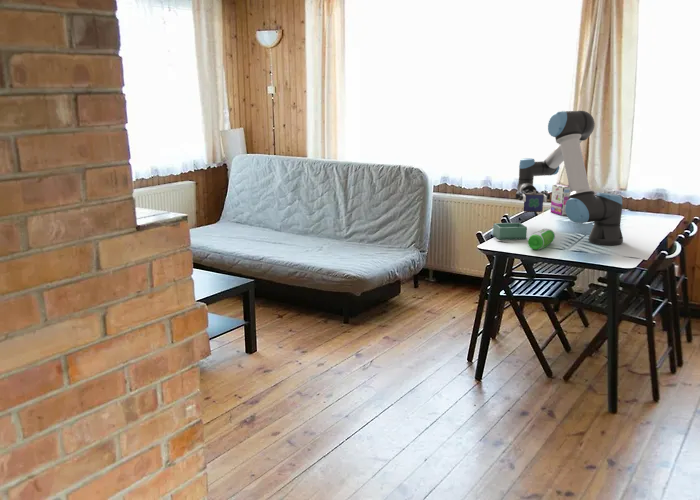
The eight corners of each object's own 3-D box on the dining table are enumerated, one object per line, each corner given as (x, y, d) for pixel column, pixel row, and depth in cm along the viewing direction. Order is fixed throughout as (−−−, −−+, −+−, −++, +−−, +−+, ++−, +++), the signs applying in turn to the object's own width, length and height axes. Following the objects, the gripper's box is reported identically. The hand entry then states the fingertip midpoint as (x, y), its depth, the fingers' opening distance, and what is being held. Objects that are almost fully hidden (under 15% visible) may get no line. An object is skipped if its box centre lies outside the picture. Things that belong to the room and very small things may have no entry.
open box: (526, 239, 320) (527, 227, 318) (499, 240, 318) (500, 227, 317) (519, 234, 330) (519, 222, 328) (492, 235, 328) (493, 223, 327)
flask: (541, 211, 324) (543, 189, 322) (543, 212, 321) (544, 190, 319) (522, 211, 325) (524, 189, 322) (524, 212, 322) (525, 190, 319)
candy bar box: (569, 215, 375) (571, 186, 371) (561, 215, 373) (563, 187, 369) (557, 211, 385) (559, 183, 381) (550, 212, 384) (552, 184, 380)
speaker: (541, 252, 296) (543, 235, 294) (526, 249, 300) (527, 233, 299) (555, 244, 310) (556, 228, 308) (540, 242, 314) (541, 226, 312)
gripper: (549, 198, 338) (558, 207, 317) (506, 198, 341) (511, 206, 319) (550, 184, 337) (559, 191, 315) (506, 183, 339) (512, 191, 317)
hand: (535, 199), depth 317 cm, fingers closed on flask, 9 cm apart
